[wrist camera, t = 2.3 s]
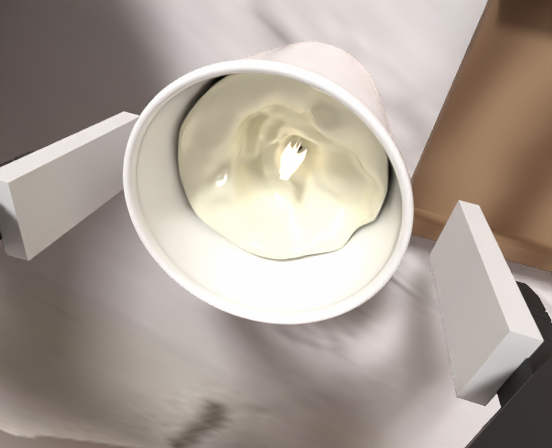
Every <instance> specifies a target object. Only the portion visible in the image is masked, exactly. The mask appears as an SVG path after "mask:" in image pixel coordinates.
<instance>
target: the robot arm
mask: <svg viewBox="0 0 552 448" xmlns="http://www.w3.org/2000/svg"><path fill="white" fill-rule="evenodd" d="M138 118H139V115H135V114H132V113H128V112H122V113H119V114H117V115H115V116H113V117H111V118H108V119H106V120H104V121H102V122H99V123H97V124H95V125H93V126H91V127H88V128H86V129H84V130H82V131H80V132H77V133H75V134H73V135H71V136H69V137H66V138H64V139H62V140H60V141H57V142H55V143H53V144H51V145H49V146H46V147H44V148H42V149H40V150H37V151H32V152H28V153H25V154H23V155H21V156H19V157H16V158H14V160H10V161H7V162H5V163H4V164H3V165H2V164H1V165H0V240H1V239H2V242H3V246H4V249H5V252H6V255H10V256H13V257H16V258H19V259H22V260H25V261H29V260H31V259H32V258H33V257H35V256H36V255H37V254H39V253H40V252H41V251H42V250H44V249H45V248H46V247H48V246H49V245H50V244H52V243H53V242H54V241H56V240H57V239H58V238H60V237H61V236H62V235H64V234H65V233H66V232H68V231H69V230H70V229H72V228H73V227H74V226H76V225H77V224H78V223H79V222H81V221H82V220H83V219H85V218H86V217H87V216H89V215H90V214H91V213H93V212H94V211H95V210H97V209H98V208H99V207H101V206H102V205H103V204H105V203H106V202H107V201H109V200H110V199H111V198H113V197H114V196H115V195H117V194H118V193H119V192H120V191H122V190H123V189H124V187H123V163H124V156H125V150H126V146H127V143H128V139H129V137H130V134H131V131H132V129H133V127H134V125H135V123H136V121H137V119H138ZM429 257H430V262H431V267H432V272H433V277H434V282H435V287H436V292H437V298H438V303H439V308H440V313H441V318H442V323H443V328H444V333H445V339H446V344H447V349H448V354H449V359H450V364H451V369H452V375H453V380H454V385H455V390H456V395H457V397H458V398H461V399H464V400H467V401H471V402H474V403H477V404H480V405H483V406H486V405H487V404H488V403H489V402H490V400H491V399H492V398H493V397H494V396H495V395H496V394H497V395H498V398H499V402H500V405H501V408H500V409H499V411H498V412H497V413H496V414H495V415H494V416H493V417H492V418H491V419H490V420H489V421H488V422H487V423H486V424H485V425H484V426H483V427H482V429H481V430H480V431H479V433H478V434H477V435H476V436H475V437H474V438H473V439H472V440H471V441H470V442H469V444H468V445H467V446H466V447H465V448H552V323H551V319H550V317H549V315H548V313H547V312H545V310H546V309H545V307H544V306H543V304H542V302H541V300H540V298H539V297H538V295H537V294H536V293H535V292H534V291H533V290H532V289H531V288H530V287H529V286H528V285H527V284H525V283H521V282H518V281H515V279H514V277H513V275H512V273H511V271H510V269H509V267H508V265H507V263H506V261H505V259H504V257H503V254H502V252H501V250H500V248H499V246H498V244H497V242H496V240H495V238H494V236H493V234H492V231H491V229H490V227H489V225H488V223H487V221H486V219H485V217H484V215H483V213H482V211H481V209H480V206H479V205H476V204H472V203H468V202H464V201H461V200H458V202H457V204H456V206H455V208H454V210H453V212H452V214H451V215H450V217H449V219H448V221H447V223H446V225H445V227H444V229H443V231H442V233H441V234H440V236H439V238H438V240H437V242H436V244H435V246H434V248H433V250H432V252H431V253H430V255H429Z"/></svg>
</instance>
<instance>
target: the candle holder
mask: <svg viewBox="0 0 552 448" xmlns="http://www.w3.org/2000/svg"><path fill="white" fill-rule="evenodd" d="M123 187H124V194H125V200H126V204H127V208H128V211H129V214H130V217H131V220H132V222H133V225H134V227H135V229H136V231H137V233H138V235H139V237H140V239H141V241H142V243H143V244H144V246H145V247H146V249H147V250H148V252H149V253H150V255H151V256H152V257H153V259H154V260H155V261H156V262H157V263H158V265H159V266H160V267H161V268H162V269H163V270H164V271H165V272H166V273H167V274H168V275H169V276H170V277H171V278H172V279H173V280H174V281H175V282H177V283H178V284H179V285H180V286H181V287H183V288H184V289H185V290H187V291H188V292H189V293H191V294H192V295H194V296H195V297H197V298H199V299H200V300H202V301H204V302H205V303H207V304H209V305H211V306H213V307H215V308H217V309H219V310H222V311H224V312H227V313H229V314H232V315H235V316H238V317H241V318H245V319H248V320H253V321H258V322H263V323H271V324H306V323H313V322H318V321H323V320H327V319H330V318H333V317H336V316H339V315H342V314H344V313H346V312H349V311H351V310H353V309H354V308H356V307H358V306H360V305H361V304H363V303H364V302H366V301H367V300H369V299H370V298H371V297H373V296H374V295H375V294H376V293H377V292H378V291H380V290H381V289H382V288H383V287H384V285H385V284H386V283H387V282H388V281H389V280H390V278H391V277H392V276H393V274H394V273H395V272H396V270H397V268H398V267H399V265H400V263H401V261H402V259H403V257H404V255H405V253H406V250H407V247H408V244H409V241H410V237H411V233H412V227H413V218H414V201H413V192H412V186H411V181H410V177H409V173H408V170H407V167H406V164H405V162H404V159H403V157H402V155H401V152H400V150H399V148H398V147H397V145H396V143H395V140H394V137H393V133H392V130H391V127H390V124H389V121H388V118H387V115H386V112H385V109H384V106H383V103H382V100H381V97H380V94H379V92H378V89H377V87H376V85H375V83H374V81H373V79H372V77H371V76H370V74H369V73H368V71H367V70H366V69H365V67H364V66H363V65H362V64H361V63H360V62H359V61H358V60H357V59H356V58H355V57H353V56H352V55H351V54H349V53H348V52H346V51H344V50H342V49H340V48H338V47H336V46H333V45H330V44H326V43H321V42H298V43H292V44H288V45H284V46H281V47H277V48H274V49H270V50H267V51H264V52H261V53H257V54H254V55H251V56H248V57H244V58H241V59H238V60H232V61H225V62H220V63H215V64H211V65H208V66H205V67H202V68H199V69H196V70H194V71H192V72H190V73H187V74H185V75H184V76H182V77H180V78H178V79H177V80H175V81H174V82H172V83H171V84H169V85H168V86H166V87H165V88H164V89H163V90H162V91H160V92H159V93H158V94H157V95H156V96H155V97H154V98H153V99H152V100H151V101H150V103H149V104H148V105H147V106H146V107H145V109H144V110H143V112H142V113H141V115H140V116H139V118H138V119H137V121H136V123H135V125H134V127H133V129H132V131H131V134H130V137H129V139H128V143H127V146H126V150H125V156H124V163H123Z"/></svg>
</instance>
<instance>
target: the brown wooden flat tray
mask: <svg viewBox="0 0 552 448" xmlns="http://www.w3.org/2000/svg"><path fill="white" fill-rule="evenodd" d="M411 186H412V192H413V201H414V218H413V227H412V233H411V234H412V235H416V236H420V237H423V238H427V239H431V240H434V241H437V240H438V238H439V236H440V234H441V233H442V231H443V229H444V227H445V225H446V223H447V221H448V219H449V217H450V215H451V214H452V212H453V210H454V208H455V206H456V204H457V202H458V200H461V201H464V202H468V203H472V204H476V205H479V206H480V209H481V211H482V213H483V215H484V217H485V219H486V221H487V223H488V225H489V227H490V229H491V231H492V234H493V236H494V238H495V240H496V242H497V244H498V246H499V248H500V250H501V252H502V254H503V257H504V259H505V260H509V261H513V262H516V263H520V264H524V265H527V266H531V267H535V268H539V269H542V270H546V271H550V272H552V0H488V2H487V5H486V7H485V9H484V11H483V14H482V16H481V18H480V21H479V23H478V25H477V28H476V30H475V32H474V35H473V37H472V39H471V42H470V44H469V46H468V49H467V51H466V53H465V56H464V58H463V60H462V63H461V65H460V67H459V70H458V72H457V74H456V76H455V79H454V81H453V83H452V86H451V88H450V90H449V93H448V95H447V97H446V100H445V102H444V104H443V107H442V109H441V111H440V114H439V116H438V118H437V121H436V123H435V125H434V128H433V130H432V132H431V134H430V137H429V139H428V141H427V144H426V146H425V148H424V151H423V153H422V155H421V158H420V160H419V162H418V165H417V167H416V169H415V172H414V174H413V176H412V179H411Z"/></svg>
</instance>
